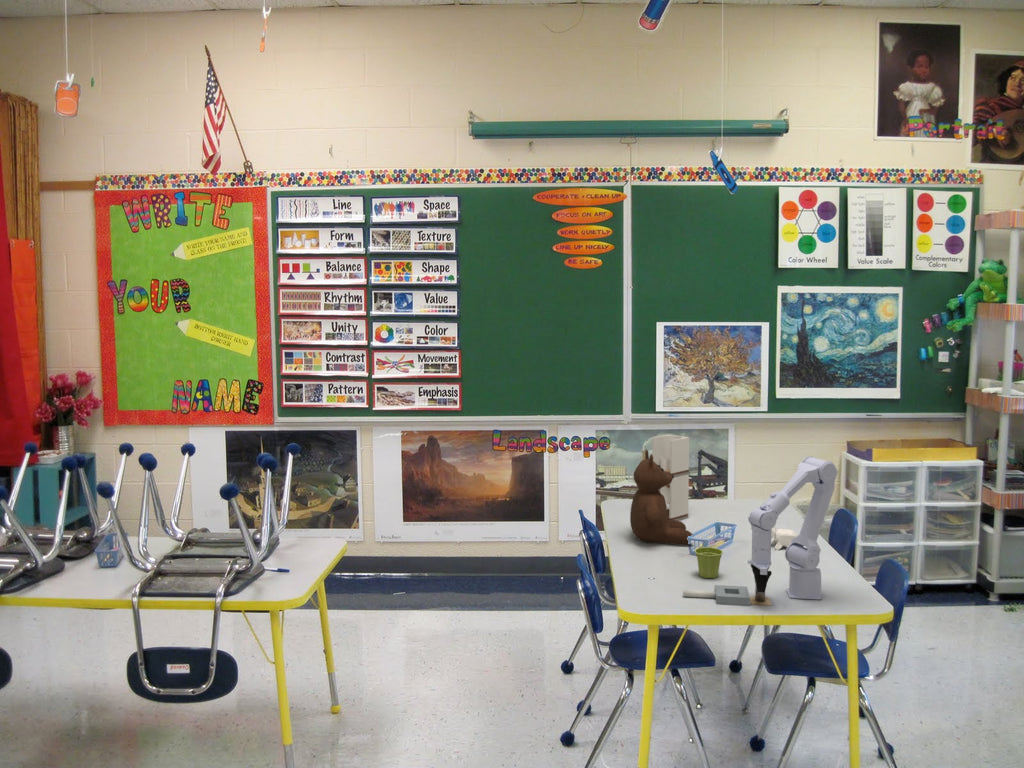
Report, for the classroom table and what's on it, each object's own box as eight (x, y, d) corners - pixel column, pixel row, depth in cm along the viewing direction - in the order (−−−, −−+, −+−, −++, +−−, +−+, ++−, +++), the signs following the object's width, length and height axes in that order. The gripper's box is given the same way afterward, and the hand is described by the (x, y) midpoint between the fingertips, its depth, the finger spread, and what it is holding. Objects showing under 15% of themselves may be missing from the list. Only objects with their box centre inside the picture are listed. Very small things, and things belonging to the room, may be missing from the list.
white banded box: (668, 513, 366) (669, 434, 362) (688, 518, 358) (689, 437, 354) (651, 518, 359) (652, 437, 355) (670, 523, 351) (672, 440, 347)
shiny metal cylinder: (763, 598, 263) (764, 573, 262) (766, 602, 260) (767, 577, 259) (753, 598, 263) (754, 573, 262) (756, 602, 260) (757, 577, 259)
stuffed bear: (698, 552, 312) (701, 459, 309) (637, 551, 312) (639, 459, 308) (681, 530, 341) (684, 445, 338) (625, 529, 341) (627, 444, 337)
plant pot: (688, 575, 286) (689, 551, 285) (704, 569, 292) (704, 545, 291) (712, 582, 279) (713, 557, 278) (727, 575, 286) (728, 551, 285)
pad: (768, 598, 264) (768, 597, 264) (771, 605, 258) (771, 604, 258) (749, 597, 265) (749, 596, 265) (751, 604, 259) (751, 603, 259)
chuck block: (746, 594, 268) (746, 586, 268) (749, 605, 258) (750, 597, 258) (682, 590, 272) (682, 583, 271) (683, 602, 262) (683, 594, 262)
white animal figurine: (793, 552, 321) (756, 536, 322) (802, 532, 319) (764, 516, 321) (797, 559, 312) (759, 543, 314) (806, 538, 311) (768, 523, 312)
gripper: (745, 540, 268) (744, 581, 269) (750, 554, 253) (749, 597, 255) (768, 540, 266) (767, 582, 268) (774, 555, 252) (773, 598, 254)
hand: (760, 589), depth 261 cm, fingers open, 3 cm apart
